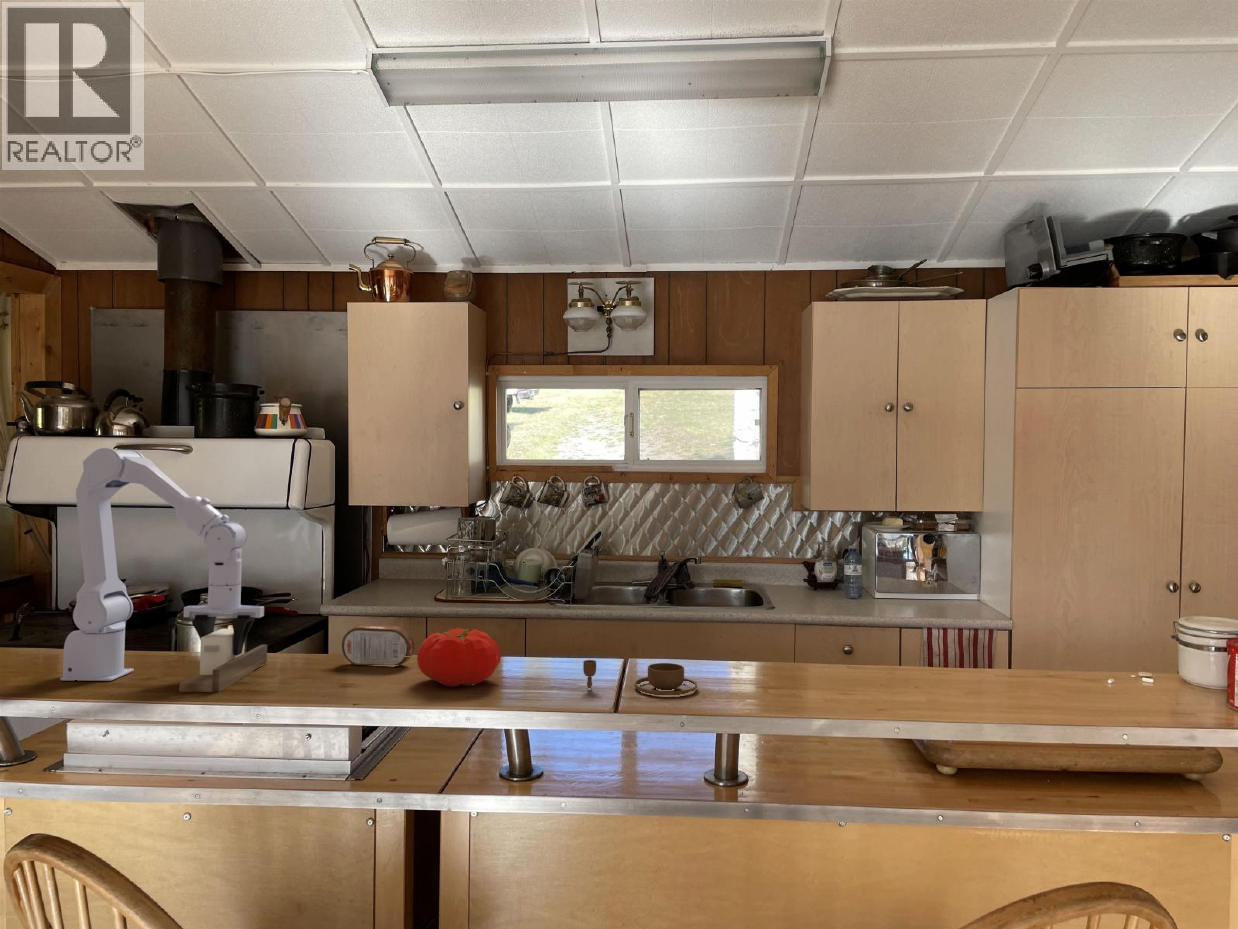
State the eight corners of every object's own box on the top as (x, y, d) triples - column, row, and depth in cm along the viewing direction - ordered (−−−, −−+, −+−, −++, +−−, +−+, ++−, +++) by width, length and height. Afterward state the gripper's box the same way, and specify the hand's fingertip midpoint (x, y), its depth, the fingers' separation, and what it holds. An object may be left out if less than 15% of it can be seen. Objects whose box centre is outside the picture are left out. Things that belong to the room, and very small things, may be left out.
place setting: (678, 708, 140) (678, 675, 140) (577, 694, 149) (578, 662, 149) (709, 686, 156) (710, 656, 156) (617, 674, 164) (618, 646, 165)
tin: (414, 665, 167) (415, 625, 167) (409, 669, 164) (409, 628, 164) (345, 663, 169) (346, 623, 169) (339, 666, 165) (340, 625, 166)
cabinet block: (197, 675, 149) (198, 638, 150) (221, 663, 159) (222, 628, 159) (222, 675, 150) (223, 638, 150) (244, 664, 159) (244, 628, 160)
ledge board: (179, 691, 144) (179, 669, 144) (232, 663, 166) (232, 644, 166) (218, 692, 144) (219, 669, 144) (266, 664, 166) (267, 644, 166)
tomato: (441, 671, 163) (442, 622, 163) (513, 678, 157) (514, 628, 157) (400, 688, 149) (401, 634, 149) (477, 697, 144) (478, 641, 144)
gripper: (176, 586, 151) (174, 658, 151) (254, 587, 152) (252, 658, 151) (194, 581, 158) (192, 650, 158) (268, 582, 159) (267, 651, 158)
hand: (223, 654), depth 155 cm, fingers open, 5 cm apart
